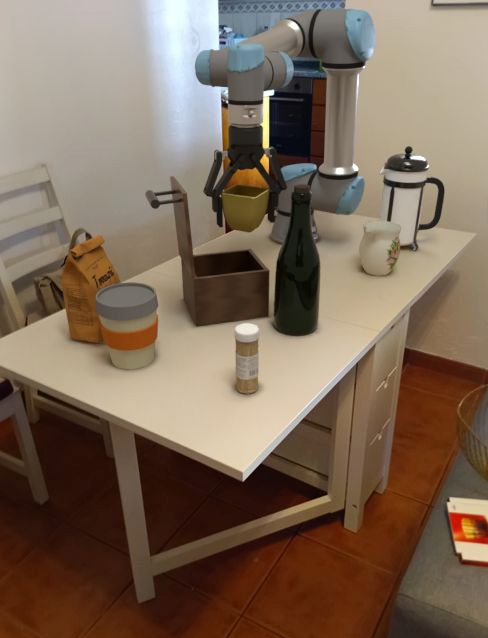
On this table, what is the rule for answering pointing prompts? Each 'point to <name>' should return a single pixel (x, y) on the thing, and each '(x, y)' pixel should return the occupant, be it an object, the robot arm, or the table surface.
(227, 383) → the table surface
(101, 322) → the reusable coffee cup
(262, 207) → the flower pot
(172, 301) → the table surface
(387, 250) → the pitcher
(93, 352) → the table surface
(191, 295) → the chest
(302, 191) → the dark green wine bottle
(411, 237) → the coffee press
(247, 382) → the sprinkles bottle
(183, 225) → the lid
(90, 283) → the coffee package
